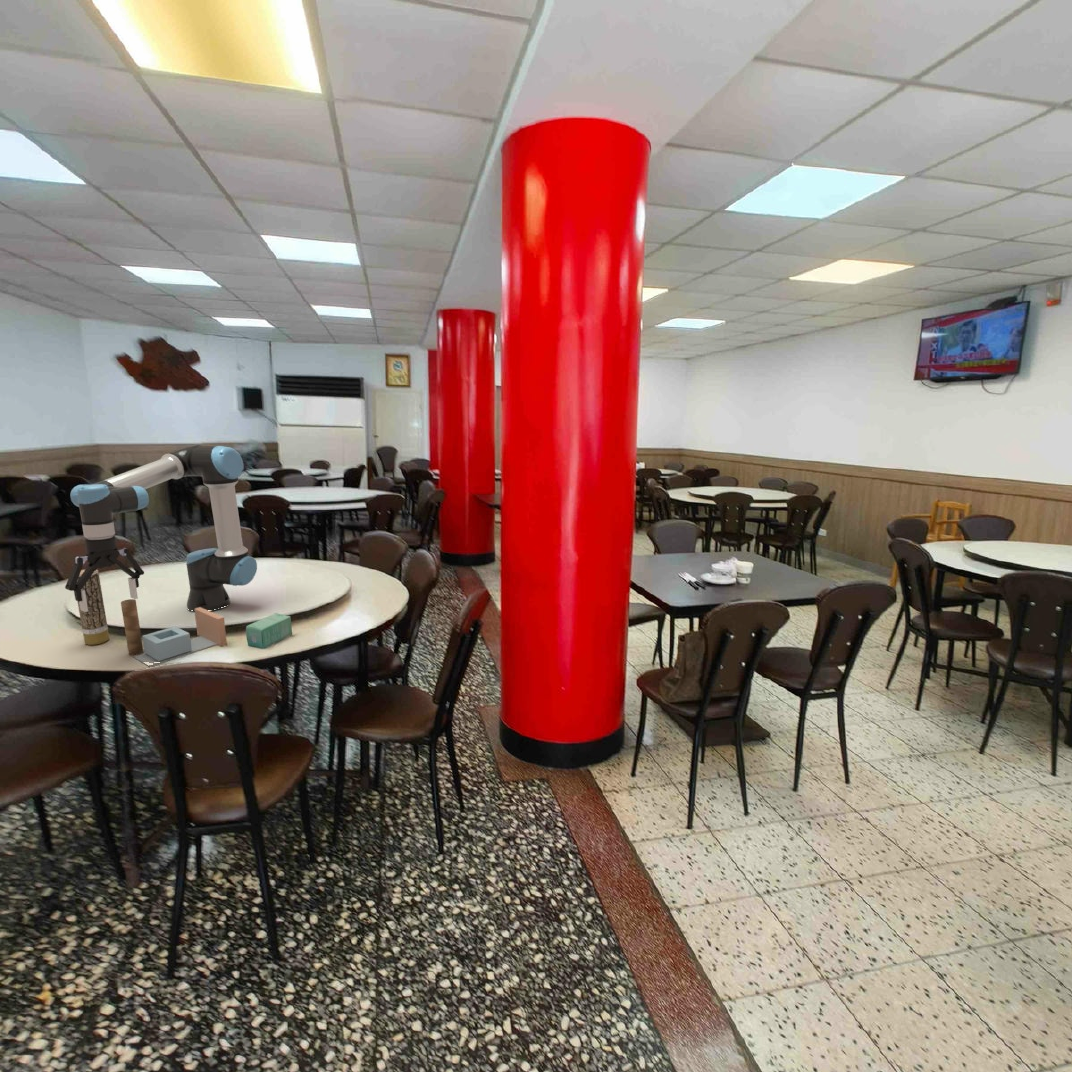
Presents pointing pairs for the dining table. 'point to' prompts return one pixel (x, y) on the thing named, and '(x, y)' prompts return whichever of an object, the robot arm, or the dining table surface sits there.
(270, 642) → the box
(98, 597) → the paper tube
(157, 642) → the socket block
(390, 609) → the dining table surface
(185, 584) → the dining table surface
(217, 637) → the wall
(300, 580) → the dining table surface
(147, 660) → the mat
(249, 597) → the dining table surface
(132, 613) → the dowel
